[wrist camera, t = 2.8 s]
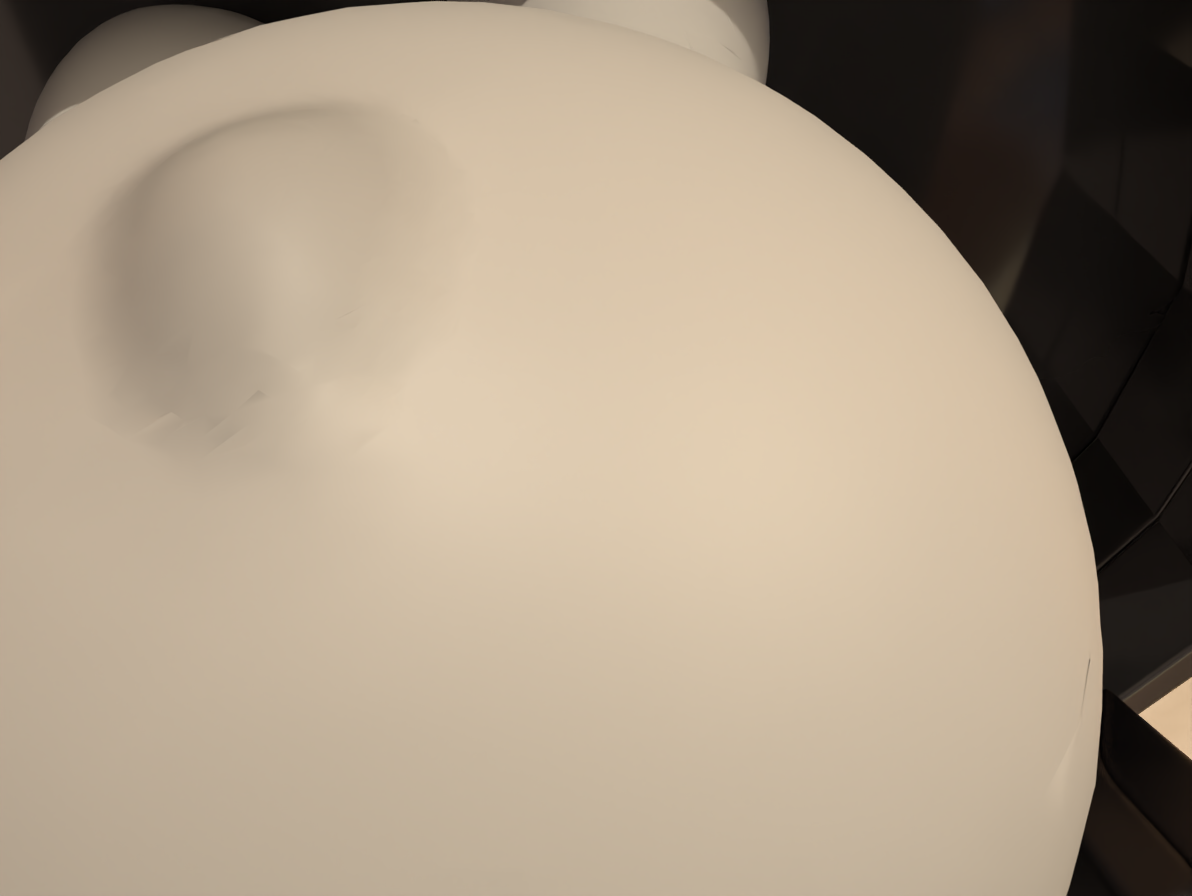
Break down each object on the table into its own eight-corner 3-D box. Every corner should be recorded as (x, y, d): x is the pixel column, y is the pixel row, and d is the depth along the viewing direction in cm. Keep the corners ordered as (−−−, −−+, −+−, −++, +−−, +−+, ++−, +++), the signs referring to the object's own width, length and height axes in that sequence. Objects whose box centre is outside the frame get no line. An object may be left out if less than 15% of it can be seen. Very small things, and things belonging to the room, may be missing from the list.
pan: (970, 684, 18) (1047, 861, 15) (110, 738, 17) (38, 936, 14) (1766, -688, 6) (2777, -948, 3) (-1091, -782, 5) (-2951, -1269, 2)
